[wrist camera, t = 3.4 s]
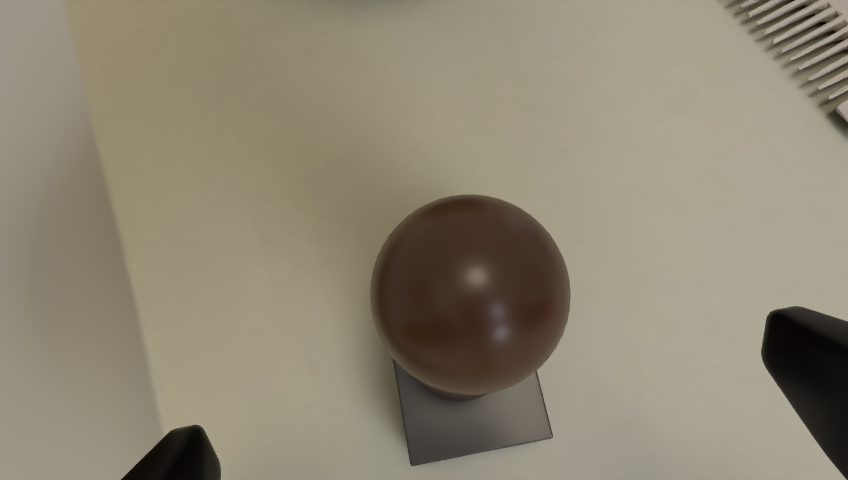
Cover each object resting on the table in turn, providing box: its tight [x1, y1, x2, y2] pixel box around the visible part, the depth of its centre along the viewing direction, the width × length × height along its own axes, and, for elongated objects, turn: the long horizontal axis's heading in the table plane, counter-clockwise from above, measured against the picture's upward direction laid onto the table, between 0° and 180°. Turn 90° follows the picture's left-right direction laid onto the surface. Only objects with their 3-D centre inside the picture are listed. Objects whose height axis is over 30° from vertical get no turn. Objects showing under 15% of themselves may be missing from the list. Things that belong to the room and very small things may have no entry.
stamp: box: [370, 195, 570, 466], centre depth 12 cm, size 6×4×10 cm, turn 11°
